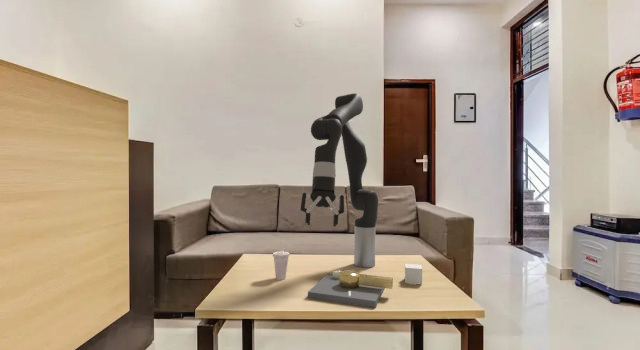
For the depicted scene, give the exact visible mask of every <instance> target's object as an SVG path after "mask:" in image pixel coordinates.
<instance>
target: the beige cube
mask: <svg viewBox="0 0 640 350" xmlns="http://www.w3.org/2000/svg"><path fill="white" fill-rule="evenodd" d="M404 283H409V284H408V285H416V284H422V285H423V267H422V264H415V263H405V264H404Z"/></svg>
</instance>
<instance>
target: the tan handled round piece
mask: <svg viewBox="0 0 640 350" xmlns="http://www.w3.org/2000/svg"><path fill="white" fill-rule="evenodd" d="M340 271H341V272H339V285H340V286H341V287H344V288H357V287H359V286H360V285H364V286H372V287H380V288H385V289H389V290H392V289H393V286H394V285H393V282H394V280H393V279H394V278H393V277H391V276H380V275H372V274H363V273H360V272H359V271H356V270H349V269H347V270H340Z"/></svg>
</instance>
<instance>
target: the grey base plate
mask: <svg viewBox="0 0 640 350" xmlns="http://www.w3.org/2000/svg"><path fill="white" fill-rule="evenodd" d="M341 271H342V270H333V271H332V272H331V273H330V272H329V273H327V274H326V275H325V276H324V277H323V278H322V279H320V280H319V281H318V282H317V283H316V284H314V286H313V287H311V288H310V290H308V291H307V299H311V300H312V299H313V300H319V301H326V302H335V303H338V304H339V303H340V304H347V305H353V306H354V305H355V306H361V307H367V308H373V309H375V308H377V305H378V303H379V302H380V299H381V298H382V295H383V293H384V291H385V289H386V288H380V287H372V286H364V285H360V286H359V287H357V288H344V287H341V286H340V285H339V272H341Z"/></svg>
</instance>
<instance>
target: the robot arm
mask: <svg viewBox="0 0 640 350" xmlns="http://www.w3.org/2000/svg"><path fill="white" fill-rule="evenodd" d="M334 107H335V108H334V109H333V110H331V111H330V112H328V114H327V115H324V116H320V117H318V118H317V119H315V120H314V121H312V124H311V127H310V134H311V136H312V137H313V138H314V139H315V140H317V141H326V143H324V144H321V145H318V146H316V148H315V149H314V150H315V151H314V163H313V170H312V184H311V185H312V186H311V193H306V192H302V195H301V202H300V209H299V210H300V211H301V212H303V213H304V214H305V220H304V221H305V224H307V225H306V226H311V225H310V224H311V211H312V210H314V208H315V207H317V208H329V209H330V210H331V211H332V212H331V213H333V216H332V217H333V218H332V227H336V226H338V224H339V216H340V215H342V214H344V213H345V196H344V195H343V194H341V195H336V193H335V188H336V176H337V175H336V155H337V150H338V146H339V143H340V140H341V139H342V144H343V151H344V159H345V163H346V166H347V167H346V169H347V174H348V182H349V192H350V193H349V194H350V201H351V206H352V207H353V209H354V210H357V211H361V212H363V213H362V216H361V217H358V218H356V219H355V220H354V240H353V241H354V246H353V247H354V249H353V250H354V251H353V252H354V253H353V254H354V255H353V257H354V258H353V261H354V263H353V264H354V266H355V267H359V268H373V267H375V266H376V227H377V225H376V223H377V220H378V211H379V210H378V209H379V197H378V194H377V193H376V191H374V190H367V189H363V182H362V180H363V179H362V177H363V174H364V172H365V170H366V167H367V163H368V156H367V151H366V150H367V149H366V145H365V144H364V142H363V141H362V139H361V138H360V137H359V136H358V134H356V132H355V131H354V130H353V129H352V127H351V125H350V123H349V121H351V120H352V119H353V118H355V117H357V116H359V115H361V114H362V112H363V110H364V103H363V98H362V96H361V95H360V94H359V93H356V92H355V93H348V94H344V95H339V96H337V97H335V100H334ZM309 198H310V199H311V201H312V202H311V203H310V205H309V206H308V208H306V201H307V200H308V199H309ZM335 200H336V201H337V202H338V208H339V210H338V209H337V208H336V206H335V205H334V201H335Z"/></svg>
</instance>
